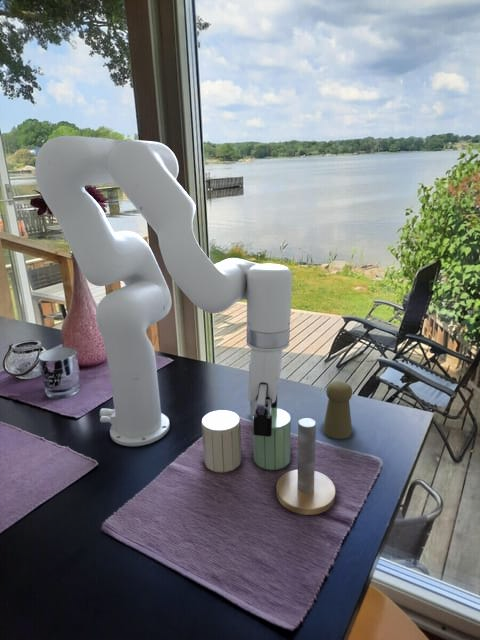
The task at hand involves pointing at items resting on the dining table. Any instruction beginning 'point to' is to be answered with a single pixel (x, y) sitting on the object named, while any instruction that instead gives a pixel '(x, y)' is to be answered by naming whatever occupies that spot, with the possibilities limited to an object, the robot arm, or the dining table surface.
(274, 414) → the green grooved cylinder
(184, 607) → the dining table surface
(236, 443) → the cup
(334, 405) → the olive pawn figure
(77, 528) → the dining table surface
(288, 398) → the dining table surface
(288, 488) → the disc
